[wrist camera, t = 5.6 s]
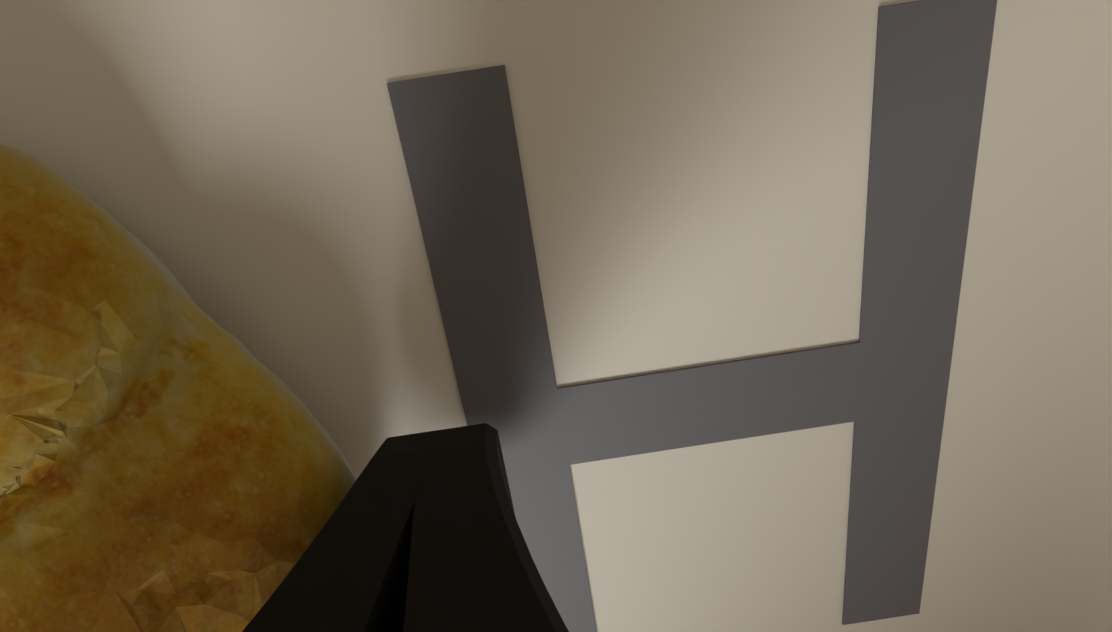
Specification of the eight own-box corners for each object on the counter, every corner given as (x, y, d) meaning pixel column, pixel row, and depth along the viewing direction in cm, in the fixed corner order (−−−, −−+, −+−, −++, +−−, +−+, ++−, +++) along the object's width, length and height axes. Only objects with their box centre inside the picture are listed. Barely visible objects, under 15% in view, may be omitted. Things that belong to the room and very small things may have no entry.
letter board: (1188, 615, 13) (1206, 632, 12) (252, 756, 13) (247, 776, 12) (1511, -264, 7) (1557, -273, 7) (-154, -5, 7) (-182, -3, 7)
